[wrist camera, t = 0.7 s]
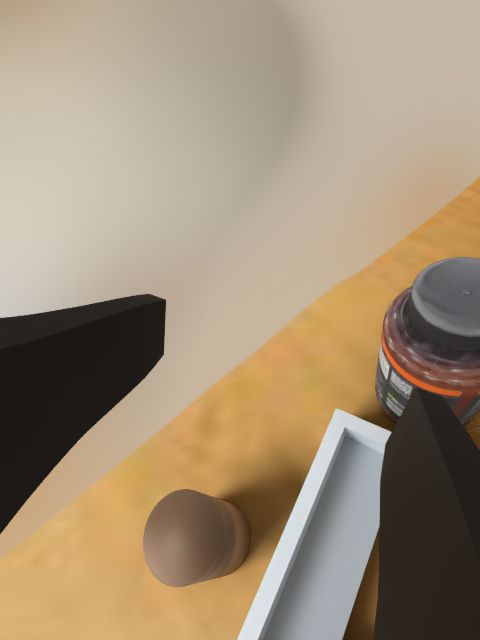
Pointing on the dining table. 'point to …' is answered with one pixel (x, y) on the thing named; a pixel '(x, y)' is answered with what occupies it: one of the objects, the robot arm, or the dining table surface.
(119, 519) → the dining table surface
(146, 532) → the peg
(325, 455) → the bore box
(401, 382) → the supplement bottle
